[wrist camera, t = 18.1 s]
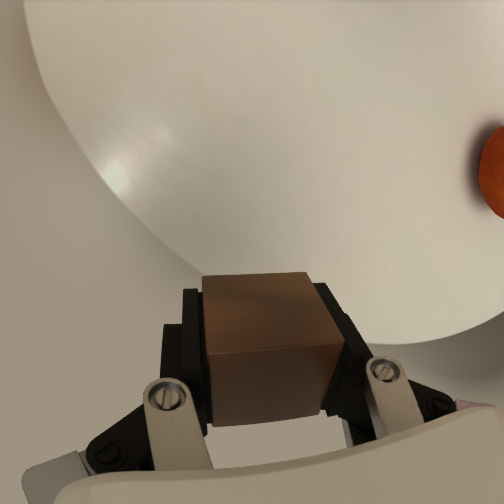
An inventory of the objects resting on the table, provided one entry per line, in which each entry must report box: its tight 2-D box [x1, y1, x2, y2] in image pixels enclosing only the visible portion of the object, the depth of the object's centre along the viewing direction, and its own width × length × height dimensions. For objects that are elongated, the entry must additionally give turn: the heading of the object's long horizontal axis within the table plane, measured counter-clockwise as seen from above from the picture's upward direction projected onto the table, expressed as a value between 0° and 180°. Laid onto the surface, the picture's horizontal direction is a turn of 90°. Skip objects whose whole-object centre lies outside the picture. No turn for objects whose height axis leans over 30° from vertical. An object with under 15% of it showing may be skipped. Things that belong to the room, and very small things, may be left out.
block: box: [202, 272, 345, 427], centre depth 10 cm, size 4×4×4 cm
